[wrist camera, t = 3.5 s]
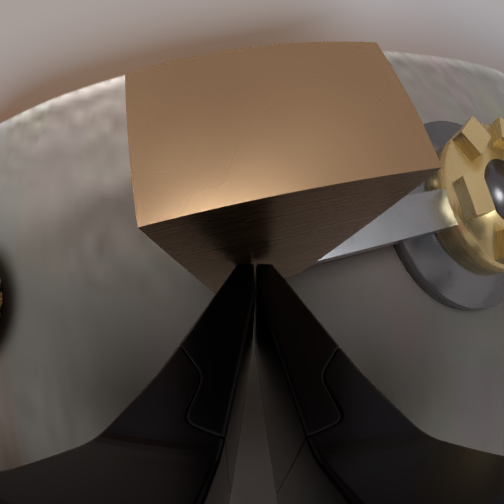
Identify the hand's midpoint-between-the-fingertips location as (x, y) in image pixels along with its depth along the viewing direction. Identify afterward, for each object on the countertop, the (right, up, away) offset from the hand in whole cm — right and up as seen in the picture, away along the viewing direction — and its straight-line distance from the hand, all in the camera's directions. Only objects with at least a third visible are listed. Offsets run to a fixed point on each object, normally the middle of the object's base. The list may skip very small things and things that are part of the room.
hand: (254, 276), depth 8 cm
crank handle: (+8, +2, +8) cm, 12 cm away
